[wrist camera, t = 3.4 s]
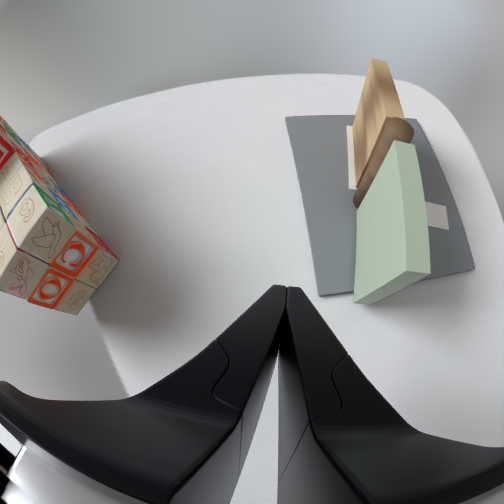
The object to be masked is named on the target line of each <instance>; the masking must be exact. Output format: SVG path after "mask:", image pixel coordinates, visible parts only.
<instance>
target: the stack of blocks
mask: <svg viewBox="0 0 504 504" xmlns="http://www.w3.org/2000/svg"><path fill="white" fill-rule="evenodd" d="M118 261H119V259H118V258H117V257H116V256H115V255H114V254H113V253H112V252H111V251H110V250H109V248H108V247H107V246H106V245H105V244H104V243H103V242H102V240H100V237H99V235H98V234H97V233H96V232H95V231H94V229H93V228H92V227H91V226H90V224H89V223H88V222H87V221H86V220H85V218H84V217H83V216H82V214H81V213H80V212H79V211H78V209H77V208H76V207H75V205H74V204H73V203H72V202H71V201H70V200H69V199H68V197H67V196H66V195H65V193H64V192H63V191H62V190H61V188H60V187H59V185H58V184H57V183H56V181H55V180H54V179H53V176H52V175H51V173H50V172H49V170H48V169H47V167H46V165H45V164H44V162H43V161H42V159H41V158H40V157H39V156H38V155H37V154H36V153H35V152H34V151H33V150H32V149H31V148H30V147H29V145H27V144H26V143H25V142H24V141H23V140H22V139H21V138H20V137H19V136H18V135H17V134H16V133H15V132H14V130H13V129H12V128H11V127H10V126H9V125H8V123H7V122H6V121H5V120H4V119H3V118H2V117H1V116H0V291H3V292H5V293H8V294H11V295H14V296H17V297H19V298H23V299H26V300H27V301H28V302H30V303H33V304H36V305H39V306H43V307H46V308H50V309H55V310H58V311H62V312H65V313H70V314H73V315H77V314H78V313H79V312H80V310H81V309H82V308H83V307H84V305H85V304H86V303H87V301H88V300H89V298H90V297H91V296H92V295H93V293H94V292H95V290H96V289H97V288H98V287H99V286H100V285H101V284H102V282H103V281H104V280H105V279H106V277H107V276H108V275H109V273H110V272H111V271H112V270H113V268H114V267H115V266H116V264H117V263H118Z"/></svg>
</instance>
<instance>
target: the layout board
mask: <svg viewBox="0 0 504 504" xmlns="http://www.w3.org/2000/svg"><path fill="white" fill-rule="evenodd" d="M355 116H356V115H317V116H293V117H285V121H286V125H287V129H288V134H289V138H290V142H291V147H292V151H293V156H294V160H295V165H296V170H297V175H298V179H299V184H300V189H301V194H302V200H303V205H304V210H305V216H306V221H307V227H308V233H309V238H310V244H311V250H312V257H313V263H314V269H315V276H316V283H317V290H318V296H325V295H333V294H340V293H347V292H354V284H355V266H356V236H357V210H358V209H357V208H356V207H355V206H354V204H353V197H354V195H355V193H356V191H357V189H358V188H355V164H354V146H353V133H352V126H353V123H354V119H355ZM404 119H405V121H407V122H408V123H409V124H410V125H411V126H412V127H413V129H414V136H413V138H412V140H411V142H410V144H412V145H415V149H416V154H417V158H418V163H419V168H420V174H421V180H422V186H423V192H424V199H425V206H426V215H427V224H428V235H429V249H430V271H431V274H429V275H427V276H426V277H424V278H422V279H420V280H425V279H431V278H436V277H441V276H446V275H451V274H456V273H461V272H465V271H470V270H473V269H475V266H474V262H473V258H472V255H471V251H470V247H469V244H468V240H467V237H466V233H465V230H464V227H463V224H462V221H461V218H460V215H459V212H458V209H457V206H456V204H455V201H454V198H453V196H452V193H451V190H450V188H449V185H448V183H447V181H446V178H445V176H444V174H443V171H442V169H441V167H440V164H439V162H438V160H437V158H436V156H435V154H434V152H433V150H432V148H431V146H430V144H429V142H428V140H427V138H426V136H425V134H424V132H423V130H422V128H421V126H420V125H419V123H418V121H417V119H410V118H404ZM420 280H418V281H420Z"/></svg>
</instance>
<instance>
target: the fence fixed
mask: <svg viewBox="0 0 504 504" xmlns="http://www.w3.org/2000/svg"><path fill="white" fill-rule="evenodd" d="M352 133H353V146H354V164H355V188H358V189H357V191H356V193H355V195H354V197H353V204H354V206H355V207H356V208H357V209H358V208H359V206H360V204H361V202H362V201H363V199H364V197H365V195H366V193H367V192H368V190H369V188H370V186H371V184H372V182H373V180H374V178H375V177H376V175H377V173H378V171H379V169H380V167H381V165H382V163H383V161H384V159H385V157H386V155H387V153H388V151H389V149H390V147H391V145H392V143H393V141H394V140H396V141H401V142H405V143H408V144H410V142H411V140H412V138H413V136H414V129H413V127H412V126H411V125H410V124H409V123H408V122H407V121H405V119H404V115H403V111H402V108H401V104H400V101H399V98H398V94H397V91H396V88H395V85H394V82H393V79H392V76H391V73H390V70H389V68H388V65H387V62H384V61H381V60H376V59H372V58H371V60H370V64H369V68H368V72H367V76H366V80H365V83H364V87H363V91H362V94H361V98H360V102H359V105H358V109H357V112H356V116H355V119H354V123H353V126H352Z"/></svg>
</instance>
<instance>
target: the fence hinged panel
mask: <svg viewBox="0 0 504 504" xmlns="http://www.w3.org/2000/svg"><path fill="white" fill-rule="evenodd" d="M429 274H431V271H430V249H429V235H428V224H427V215H426V206H425V199H424V192H423V186H422V180H421V174H420V168H419V163H418V158H417V154H416V149H415V145H412V144H408V143H405V142H401V141H396V140H394V141H393V143H392V145H391V147H390V149H389V151H388V153H387V155H386V157H385V159H384V161H383V163H382V165H381V167H380V169H379V171H378V173H377V175H376V177H375V178H374V180H373V182H372V184H371V186H370V188H369V190H368V192H367V193H366V195H365V197H364V199H363V201H362V202H361V204H360V206H359V208H358V210H357V236H356V266H355V284H354V298H353V303H357V304H367V305H370V304H373V303H375V302H377V301H379V300H381V299H383V298H385V297H387V296H389V295H391V294H393V293H395V292H397V291H399V290H401V289H403V288H405V287H407V286H409V285H411V284H413V283H415V282H416V281H418V280H420V279H422V278H424V277H426V276H427V275H429Z"/></svg>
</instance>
